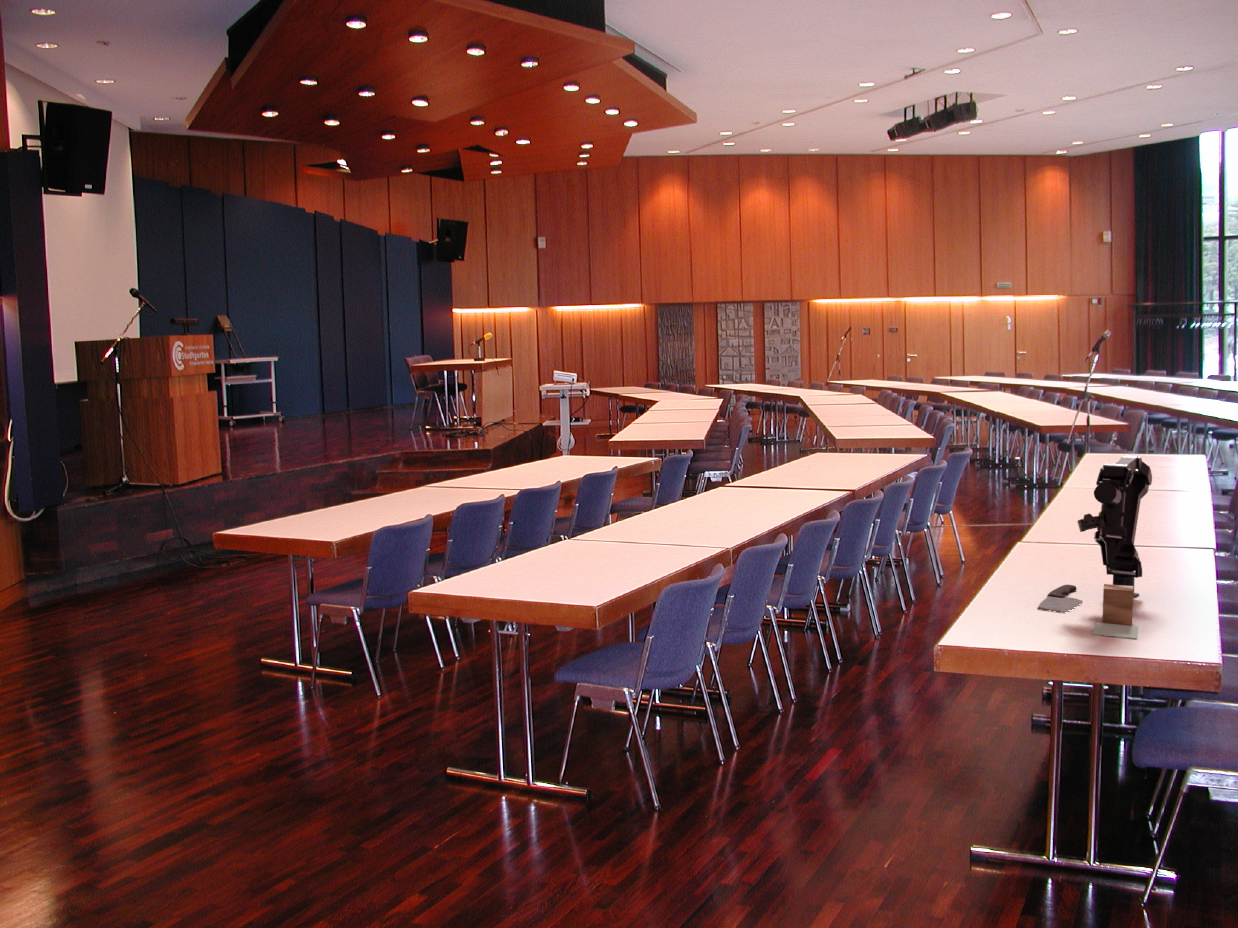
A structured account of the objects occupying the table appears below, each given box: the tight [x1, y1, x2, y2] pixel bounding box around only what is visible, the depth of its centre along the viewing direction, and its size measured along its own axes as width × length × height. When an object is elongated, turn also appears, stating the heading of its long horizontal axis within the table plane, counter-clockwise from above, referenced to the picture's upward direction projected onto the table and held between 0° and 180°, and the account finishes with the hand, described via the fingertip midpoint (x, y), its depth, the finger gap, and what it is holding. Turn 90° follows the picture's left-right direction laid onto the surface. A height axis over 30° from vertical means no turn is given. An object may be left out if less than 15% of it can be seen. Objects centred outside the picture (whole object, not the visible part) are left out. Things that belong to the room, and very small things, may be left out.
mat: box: [1092, 621, 1139, 640], centre depth 268 cm, size 12×10×1 cm
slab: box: [1102, 583, 1134, 626], centre depth 275 cm, size 3×7×10 cm, turn 62°
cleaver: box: [1037, 584, 1083, 614], centre depth 300 cm, size 29×10×2 cm, turn 146°
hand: (1107, 564), depth 287 cm, fingers open, 9 cm apart
